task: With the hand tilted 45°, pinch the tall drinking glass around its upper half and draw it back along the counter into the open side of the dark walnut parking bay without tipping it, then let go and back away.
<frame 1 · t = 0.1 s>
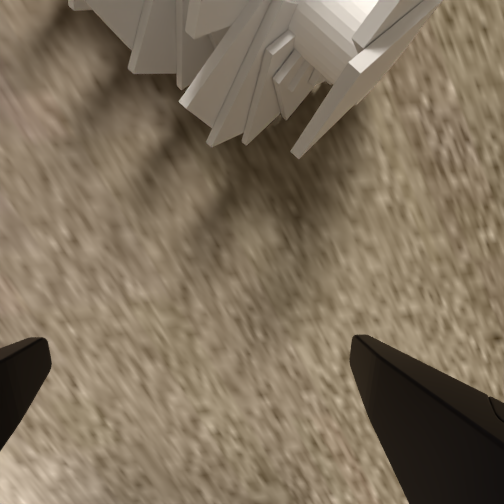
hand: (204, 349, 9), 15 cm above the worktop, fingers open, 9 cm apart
spiral staircase: (219, 30, 24), on the worktop
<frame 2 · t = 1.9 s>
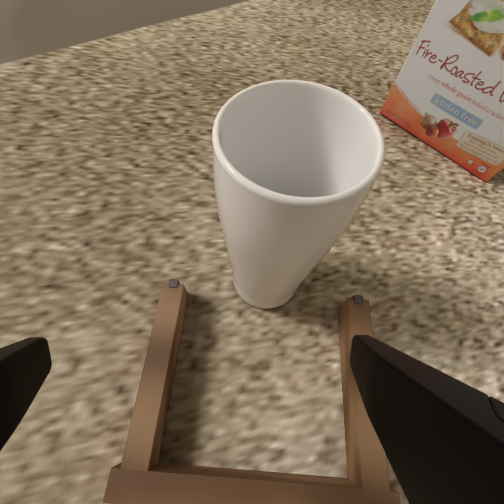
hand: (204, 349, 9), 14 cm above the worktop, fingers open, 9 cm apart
walnut parking bay: (259, 368, 21), on the worktop
cracker box: (439, 138, 34), on the worktop
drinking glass: (264, 280, 25), on the worktop
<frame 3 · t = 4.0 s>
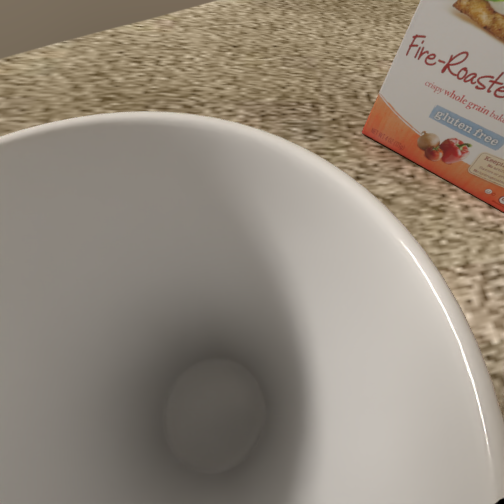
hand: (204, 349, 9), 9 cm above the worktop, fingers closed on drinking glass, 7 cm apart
cracker box: (440, 160, 26), on the worktop
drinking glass: (217, 411, 15), on the worktop, touching gripper
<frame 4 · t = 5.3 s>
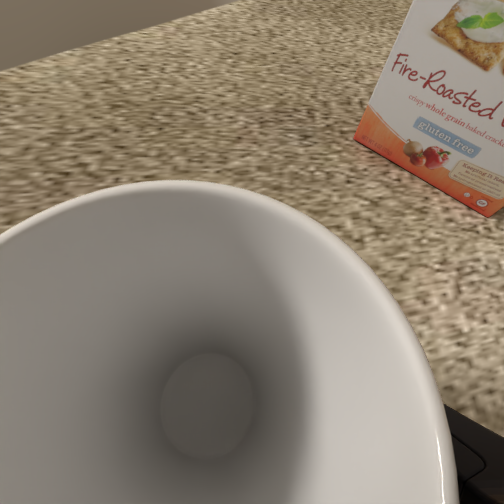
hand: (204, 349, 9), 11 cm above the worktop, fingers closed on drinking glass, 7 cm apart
cracker box: (426, 164, 28), on the worktop
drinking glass: (210, 402, 17), point 1 cm above the worktop, touching gripper
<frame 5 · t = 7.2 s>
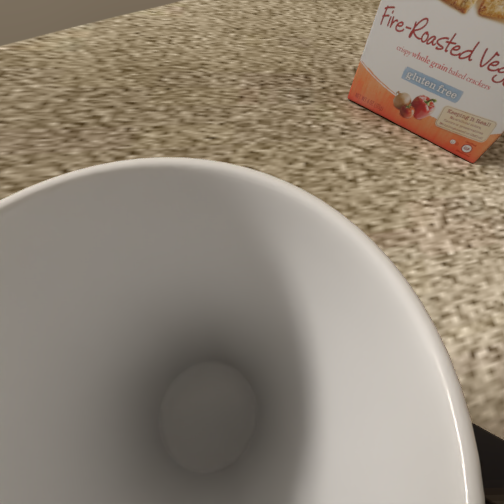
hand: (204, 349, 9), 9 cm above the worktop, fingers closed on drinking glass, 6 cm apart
cracker box: (415, 121, 30), on the worktop
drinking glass: (210, 413, 16), on the worktop, touching gripper
when the fingers open (9 cm above the worktop, at t = 7.4 s): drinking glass stays where it is, on the worktop.
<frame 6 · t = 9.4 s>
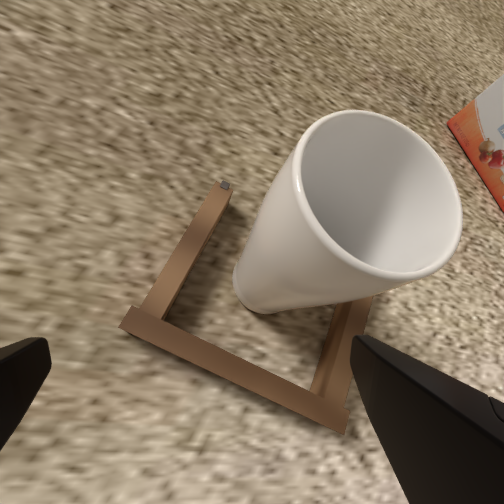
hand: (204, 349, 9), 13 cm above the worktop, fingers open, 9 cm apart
walnut parking bay: (267, 287, 24), on the worktop
cracker box: (486, 168, 36), on the worktop
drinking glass: (262, 282, 24), on the worktop
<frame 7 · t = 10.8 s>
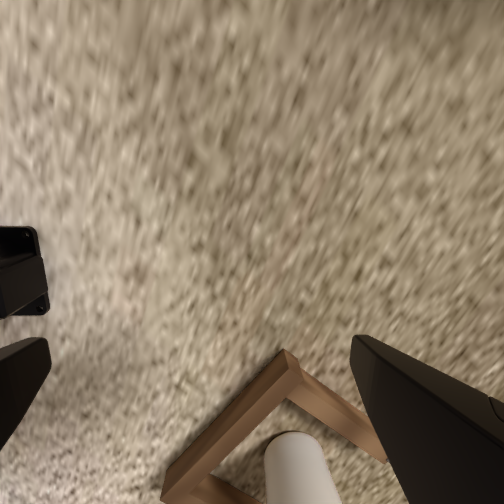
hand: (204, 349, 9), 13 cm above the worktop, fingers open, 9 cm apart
walnut parking bay: (286, 453, 27), on the worktop
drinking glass: (291, 449, 27), on the worktop
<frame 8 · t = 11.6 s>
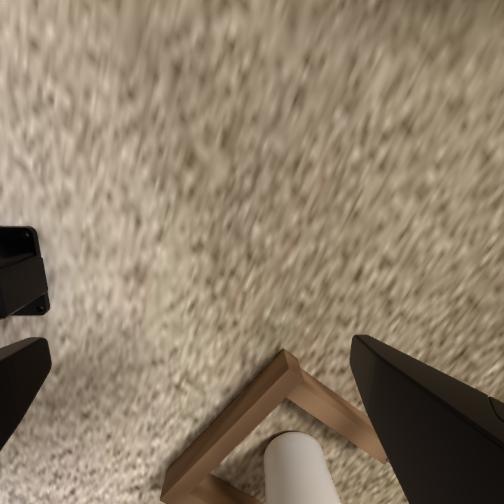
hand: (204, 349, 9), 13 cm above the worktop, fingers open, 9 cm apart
walnut parking bay: (286, 453, 27), on the worktop
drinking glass: (291, 449, 27), on the worktop
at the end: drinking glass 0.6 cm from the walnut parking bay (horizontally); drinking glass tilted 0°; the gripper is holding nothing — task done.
